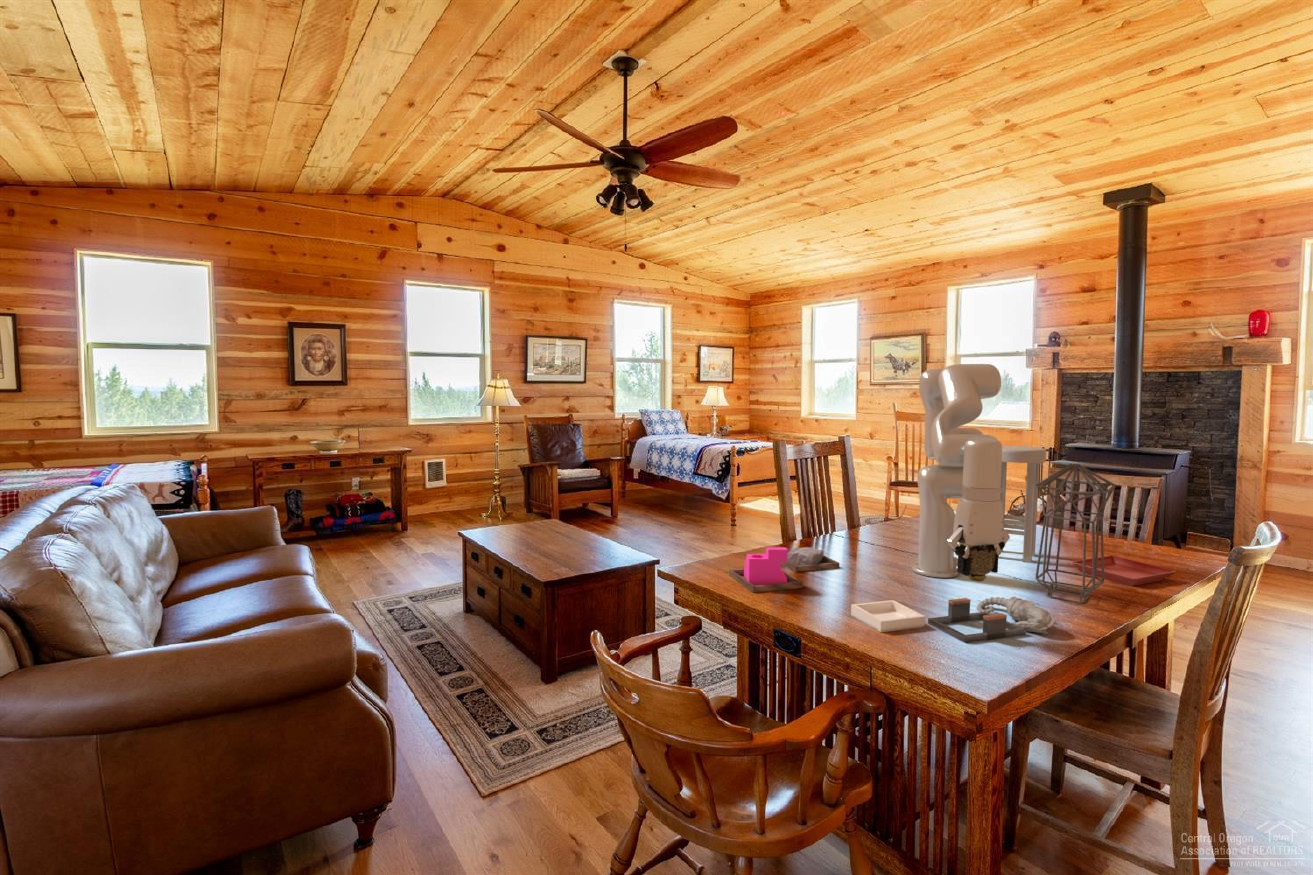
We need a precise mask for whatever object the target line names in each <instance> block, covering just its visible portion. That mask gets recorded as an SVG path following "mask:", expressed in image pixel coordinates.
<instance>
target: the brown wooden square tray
mask: <svg viewBox="0 0 1313 875" xmlns="http://www.w3.org/2000/svg"><path fill="white" fill-rule="evenodd" d="M783 572H784V574H785V575H786V577H787V583H779V584H768V585H758V586H754V585H753V584H751V583H750V582H749V581H747V580H746V578H745V577H743V576H744V568H735V569H729V570H728V575H729V577H731V578H733V579H734V580H735V581H736V582H738V583H740V584H741V585H742V586H744V587H745V588H746V589H748V590H749V591H751V592H752V593H763V592H771V591H782V590H792V589H803V587H804V586H803V585H804V583H803V581H801V580H800V579H798V578H796V577H794V576H793V575H791V574H790V573H789V572H786V571H784V570H783ZM742 575H743V576H742Z"/></svg>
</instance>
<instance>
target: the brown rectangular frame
mask: <svg viewBox="0 0 1313 875" xmlns="http://www.w3.org/2000/svg"><path fill="white" fill-rule="evenodd" d="M790 551H791V550H790ZM790 551H789V550H788V553H789V552H790ZM821 562H824V563H818V564H813V565H801V566H796V565H794V564H792V563H791V562H789V561H787V562H781V565H783V566H784V567H787V568H788V569H790V570H792V571H794V572H808V571H821V570H830V569H840V562H839V561H836V560H834V559H832V558H830V557H828V556H826V555H824V556H823V560H822V561H821Z"/></svg>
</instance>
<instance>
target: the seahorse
mask: <svg viewBox="0 0 1313 875" xmlns="http://www.w3.org/2000/svg"><path fill="white" fill-rule="evenodd" d="M994 605H996V606H1001V607H1005V608H1006V612H1007V614H1008V616H1009V617H1011V619H1012V621H1015V622H1011V623H1012V624H1015V625H1017V626H1019V627H1021V628H1024V629H1026V632H1030V633H1038V634H1039V633H1040V634H1045V635H1046V634H1047V635H1048V632H1047V629H1050V628H1051V627H1052V626H1053V625H1054V624H1055V623H1056V622H1057V621H1056V617H1055V616H1054V615H1052V614H1051V613H1050V612H1048V610H1047V609H1045V608H1043V607H1040V606H1037V605H1036V602H1035V601H1033V600H1029V599H1023V598H1017V597H1016V596H1011V597H1010V598H1005V597H1000V596H995V597H994V596H991V597H990V598H985V599H983V600H980V601H979V603H978V604H977V606H976V611H978V612H987V613H989V614H991V613H992V612H994V611H995V608H994ZM1016 621H1017V622H1016Z"/></svg>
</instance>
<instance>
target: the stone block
mask: <svg viewBox="0 0 1313 875" xmlns="http://www.w3.org/2000/svg"><path fill="white" fill-rule="evenodd" d="M823 556H825V555H824V549H818V548H814V547H808V546H805V547H797V548H794V549H791V550H790V552H789V553H788V556H787V561H789V562H791V563H792V564H794V565H796V566H801V565H813V564H820V562H823V561H822V560H823Z"/></svg>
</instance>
